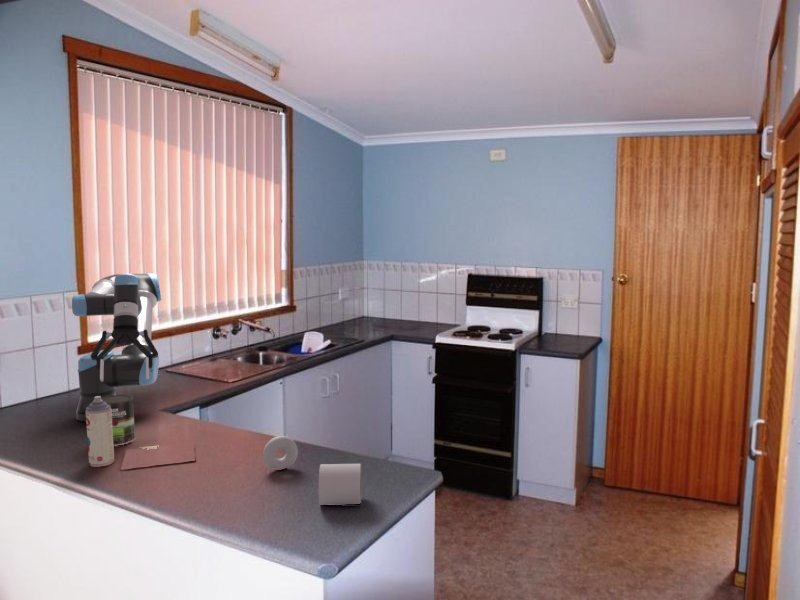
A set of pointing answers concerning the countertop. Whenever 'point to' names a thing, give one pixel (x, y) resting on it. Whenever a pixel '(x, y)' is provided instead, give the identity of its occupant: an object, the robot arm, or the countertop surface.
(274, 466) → the donut
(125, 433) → the coffee can
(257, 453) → the countertop surface
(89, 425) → the aerosol can
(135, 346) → the robot arm
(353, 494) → the toilet paper
